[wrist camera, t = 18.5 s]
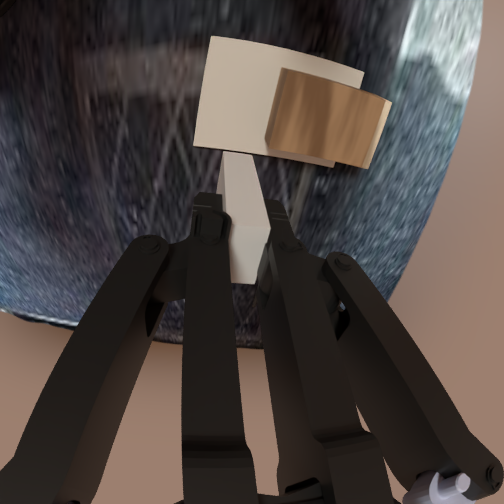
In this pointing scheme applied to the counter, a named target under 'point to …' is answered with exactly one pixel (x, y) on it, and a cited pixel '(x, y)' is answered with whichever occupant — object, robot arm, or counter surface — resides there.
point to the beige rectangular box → (325, 119)
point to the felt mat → (253, 94)
